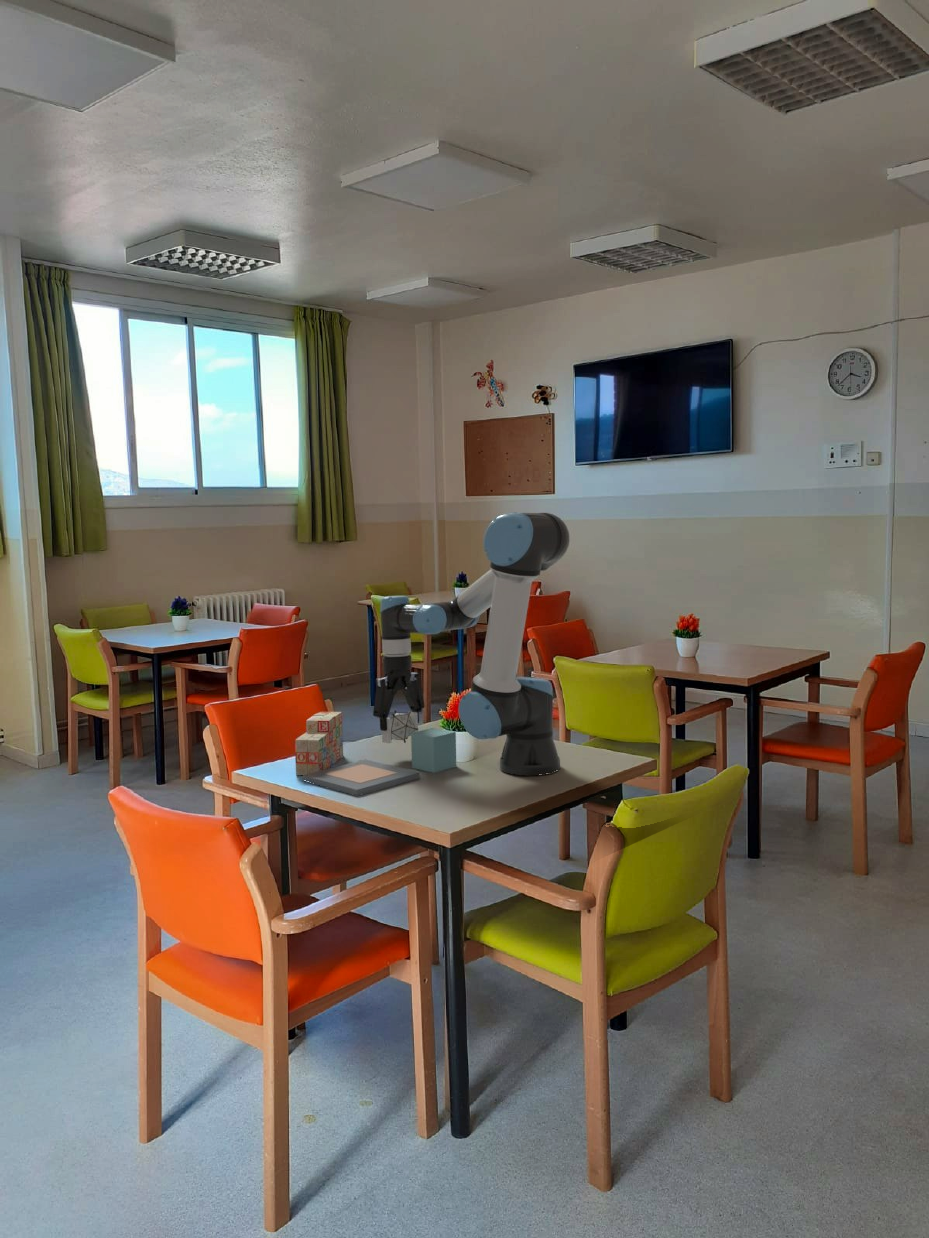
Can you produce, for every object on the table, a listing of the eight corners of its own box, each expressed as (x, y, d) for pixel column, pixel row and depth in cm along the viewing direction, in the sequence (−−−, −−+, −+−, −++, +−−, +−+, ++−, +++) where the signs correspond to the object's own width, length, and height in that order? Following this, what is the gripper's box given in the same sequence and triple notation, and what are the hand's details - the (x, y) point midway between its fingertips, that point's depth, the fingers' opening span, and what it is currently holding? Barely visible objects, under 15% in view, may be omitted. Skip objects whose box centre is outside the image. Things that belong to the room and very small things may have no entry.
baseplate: (419, 778, 234) (419, 771, 234) (356, 796, 219) (356, 789, 219) (365, 765, 247) (365, 759, 247) (303, 781, 233) (302, 774, 233)
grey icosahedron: (395, 754, 255) (385, 721, 260) (425, 742, 255) (414, 709, 260) (385, 744, 248) (374, 710, 252) (415, 731, 247) (404, 698, 252)
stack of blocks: (319, 776, 237) (318, 727, 236) (295, 776, 238) (293, 727, 237) (343, 756, 258) (342, 710, 257) (321, 755, 259) (319, 710, 258)
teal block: (456, 766, 245) (455, 731, 244) (434, 772, 239) (433, 737, 238) (434, 761, 250) (433, 727, 249) (411, 767, 244) (411, 733, 243)
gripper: (416, 649, 262) (420, 730, 264) (355, 658, 247) (359, 744, 248) (436, 650, 257) (439, 733, 259) (375, 660, 242) (379, 748, 243)
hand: (400, 739), depth 254 cm, fingers closed on grey icosahedron, 9 cm apart
